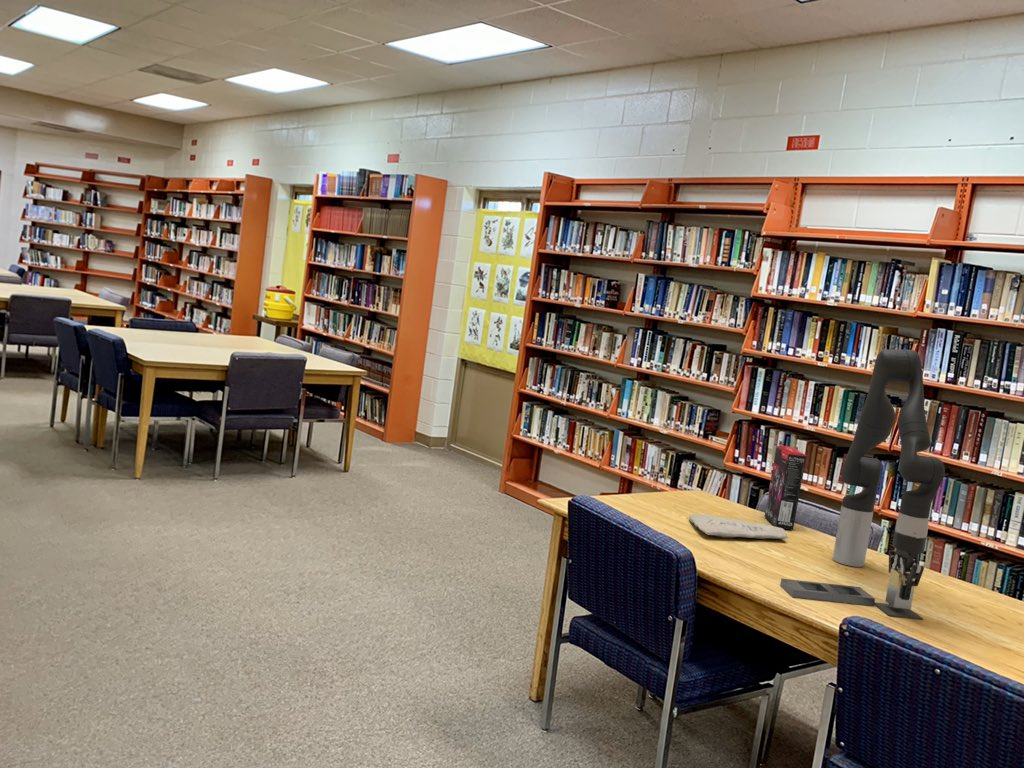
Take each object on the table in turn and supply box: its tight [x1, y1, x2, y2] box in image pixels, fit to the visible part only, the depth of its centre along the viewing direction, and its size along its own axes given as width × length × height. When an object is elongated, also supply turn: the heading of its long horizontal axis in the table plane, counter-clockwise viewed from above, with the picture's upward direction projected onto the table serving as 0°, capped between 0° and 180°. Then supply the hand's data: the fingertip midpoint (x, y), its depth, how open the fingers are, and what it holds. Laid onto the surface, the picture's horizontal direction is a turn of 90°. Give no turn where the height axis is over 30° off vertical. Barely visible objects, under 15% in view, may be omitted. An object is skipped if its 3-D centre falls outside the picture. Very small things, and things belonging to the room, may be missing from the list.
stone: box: [688, 513, 788, 540], centre depth 285 cm, size 25×5×30 cm
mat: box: [874, 601, 924, 621], centre depth 224 cm, size 9×9×1 cm
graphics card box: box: [764, 445, 807, 531], centre depth 307 cm, size 17×7×27 cm, turn 178°
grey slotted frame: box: [779, 578, 876, 607], centre depth 230 cm, size 9×22×2 cm, turn 92°
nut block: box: [885, 568, 916, 610], centre depth 223 cm, size 4×4×9 cm
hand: (899, 595), depth 223 cm, fingers closed on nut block, 4 cm apart
